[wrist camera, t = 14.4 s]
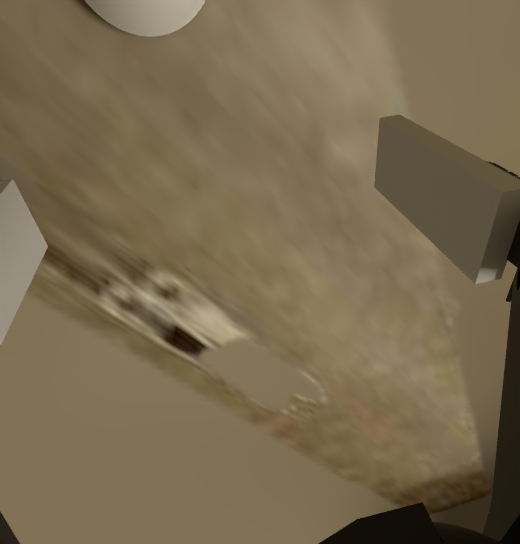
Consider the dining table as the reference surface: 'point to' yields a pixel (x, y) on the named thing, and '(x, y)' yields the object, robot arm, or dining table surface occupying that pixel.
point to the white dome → (147, 14)
